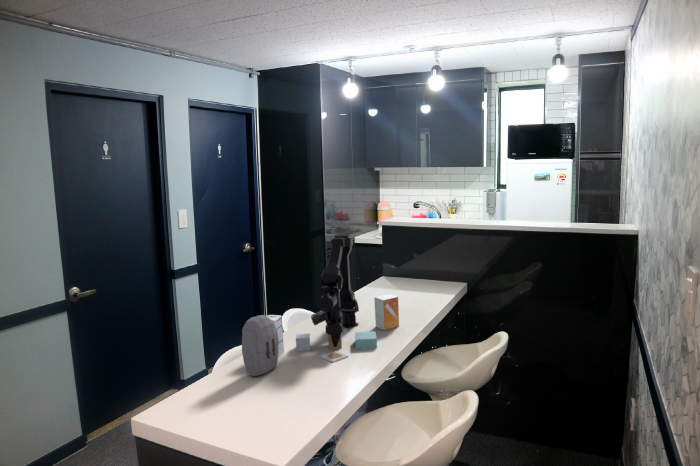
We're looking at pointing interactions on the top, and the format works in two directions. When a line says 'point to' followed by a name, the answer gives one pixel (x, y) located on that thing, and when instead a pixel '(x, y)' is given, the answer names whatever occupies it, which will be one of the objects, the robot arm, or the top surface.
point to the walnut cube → (332, 343)
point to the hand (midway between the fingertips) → (335, 343)
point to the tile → (334, 356)
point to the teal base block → (365, 340)
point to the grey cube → (303, 342)
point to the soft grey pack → (259, 345)
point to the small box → (386, 311)
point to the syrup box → (278, 331)
